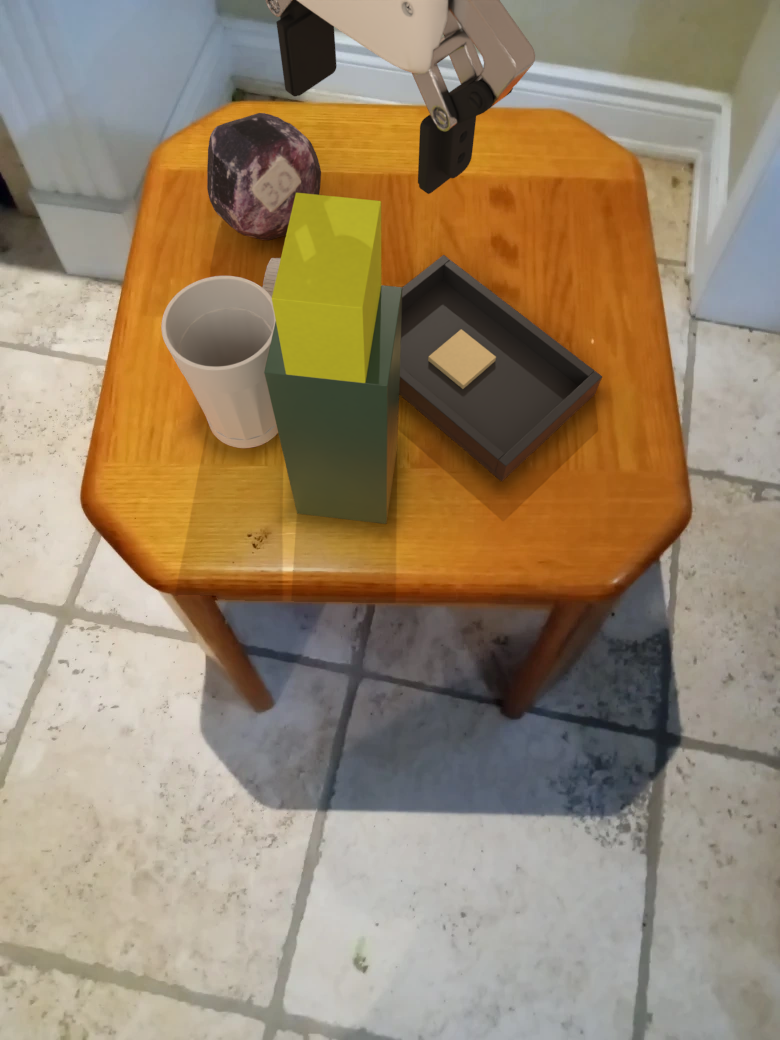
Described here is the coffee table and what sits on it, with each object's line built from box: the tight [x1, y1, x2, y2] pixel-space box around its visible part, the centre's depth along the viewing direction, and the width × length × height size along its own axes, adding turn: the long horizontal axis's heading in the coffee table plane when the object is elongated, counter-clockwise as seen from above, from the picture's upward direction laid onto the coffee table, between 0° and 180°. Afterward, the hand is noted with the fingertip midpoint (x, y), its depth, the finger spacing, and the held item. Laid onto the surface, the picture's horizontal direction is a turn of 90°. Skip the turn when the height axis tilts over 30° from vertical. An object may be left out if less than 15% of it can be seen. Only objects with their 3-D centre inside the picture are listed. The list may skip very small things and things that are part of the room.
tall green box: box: [264, 284, 403, 525], centre depth 56 cm, size 7×7×19 cm
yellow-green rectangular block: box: [272, 193, 382, 383], centre depth 44 cm, size 4×7×6 cm, turn 173°
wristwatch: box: [261, 257, 281, 297], centre depth 69 cm, size 3×5×5 cm, turn 168°
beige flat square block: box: [428, 329, 496, 389], centre depth 68 cm, size 4×4×1 cm
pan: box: [399, 254, 603, 483], centre depth 67 cm, size 18×12×3 cm, turn 45°
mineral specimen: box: [206, 112, 322, 241], centre depth 71 cm, size 10×10×10 cm
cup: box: [160, 275, 278, 449], centre depth 61 cm, size 8×8×12 cm
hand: (375, 127), depth 42 cm, fingers open, 9 cm apart
